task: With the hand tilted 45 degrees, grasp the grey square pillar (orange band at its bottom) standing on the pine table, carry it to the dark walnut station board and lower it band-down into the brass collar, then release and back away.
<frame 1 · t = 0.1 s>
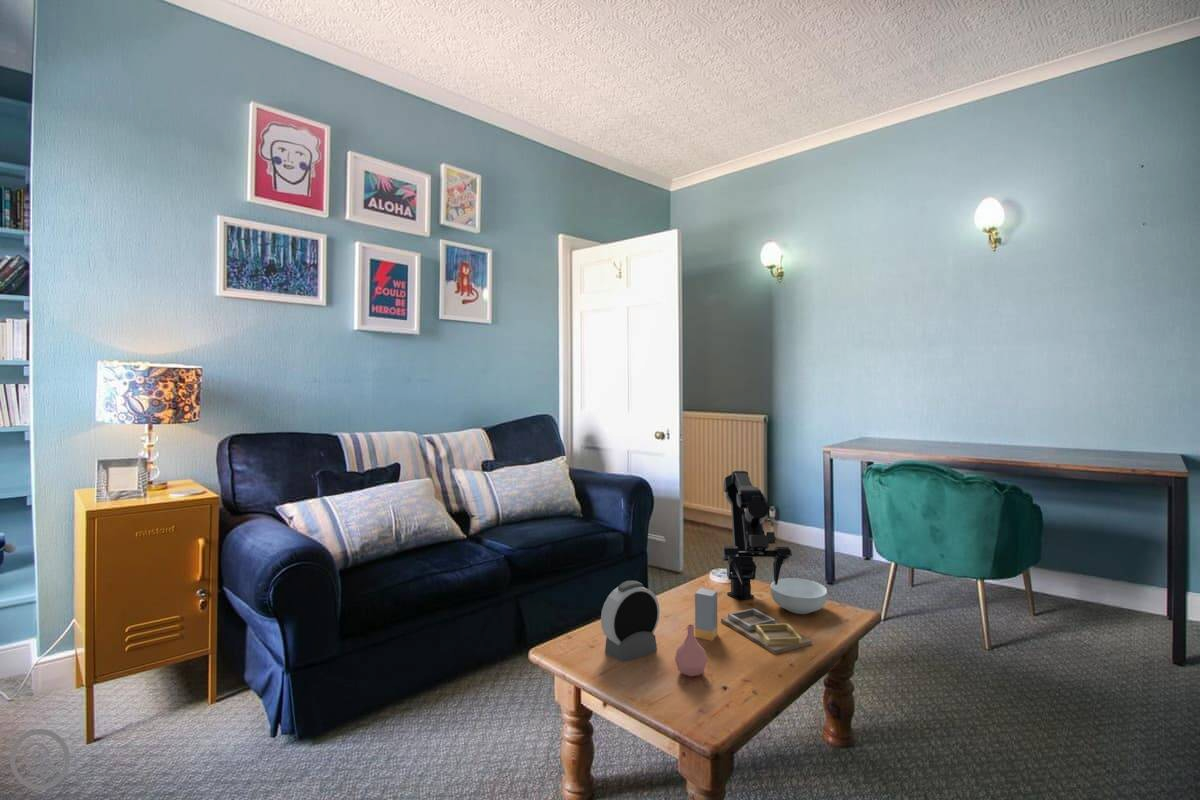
hand: (759, 584, 162), 15 cm above the table, tool tilted 35°, fingers open, 9 cm apart
perfume bottle: (690, 674, 143), on the table
alarm clock: (631, 650, 156), on the table
grey square pillar: (706, 635, 164), on the table
cereal bowl: (798, 609, 182), on the table
station board: (764, 632, 166), on the table
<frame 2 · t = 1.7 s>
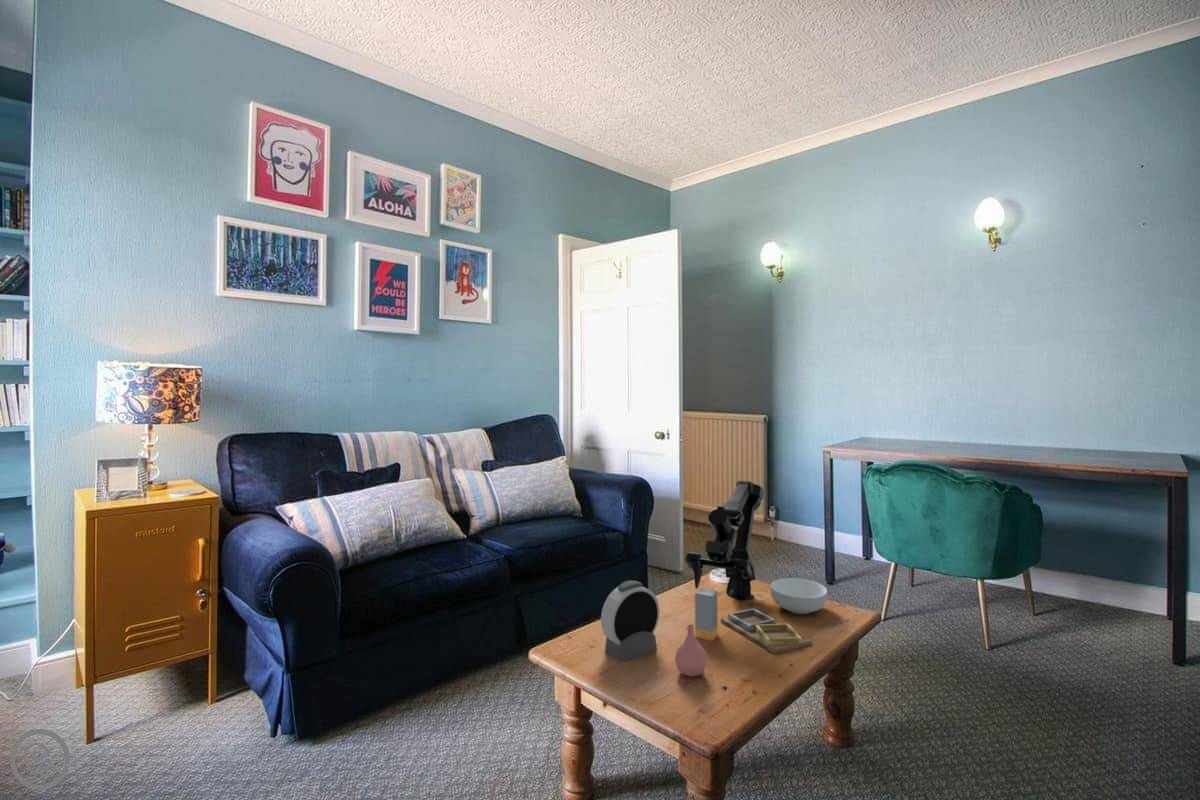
hand: (711, 590, 168), 11 cm above the table, tool tilted 45°, fingers open, 9 cm apart
nothing on the table moved.
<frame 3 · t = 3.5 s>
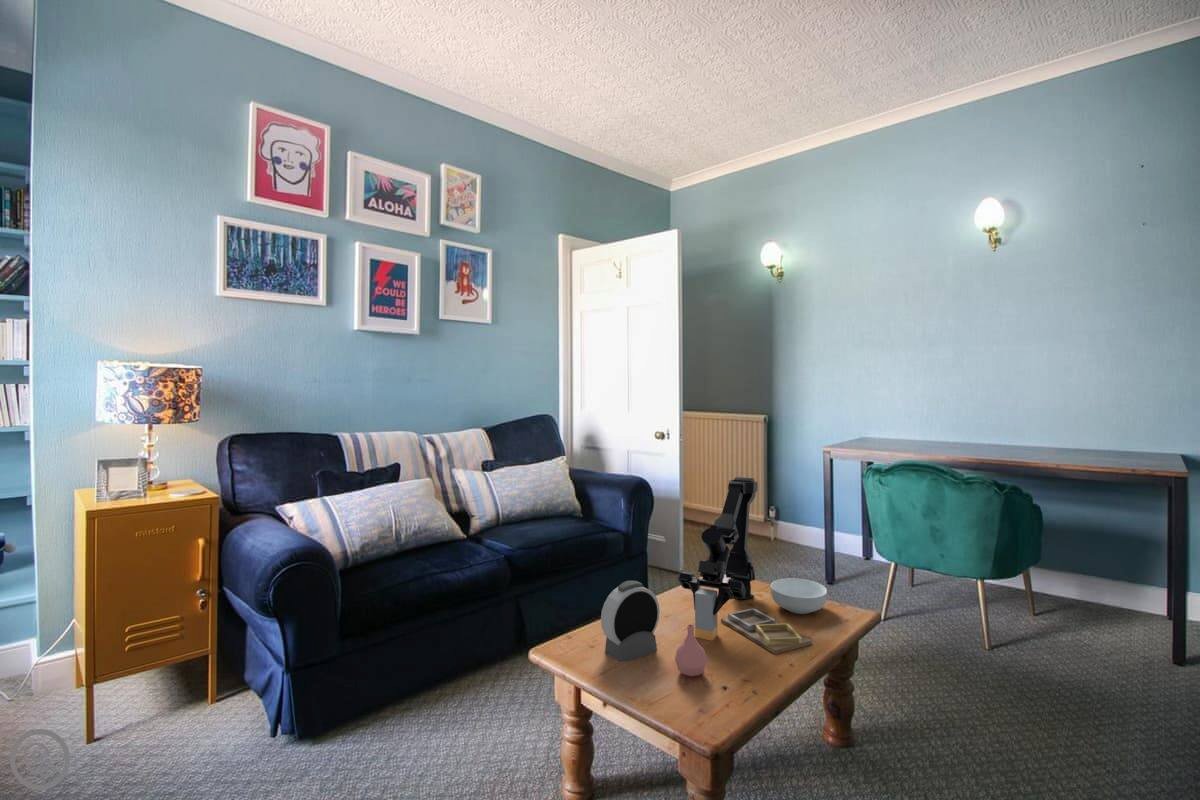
hand: (704, 612, 163), 7 cm above the table, tool tilted 45°, fingers closed on grey square pillar, 5 cm apart
grey square pillar: (706, 635, 164), on the table, touching gripper
everything else where it was.
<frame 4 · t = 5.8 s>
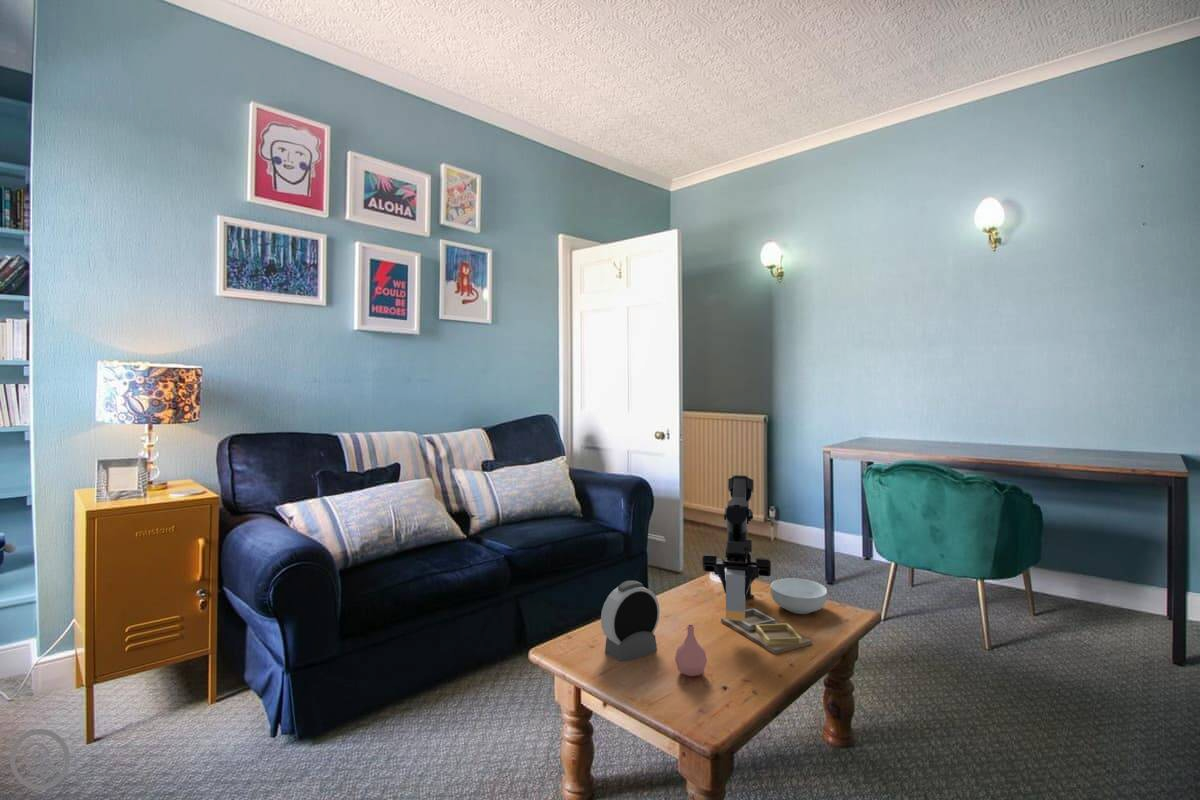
hand: (735, 593, 160), 13 cm above the table, tool tilted 45°, fingers closed on grey square pillar, 5 cm apart
grey square pillar: (735, 617, 161), point 6 cm above the table, touching gripper
everything else where it was.
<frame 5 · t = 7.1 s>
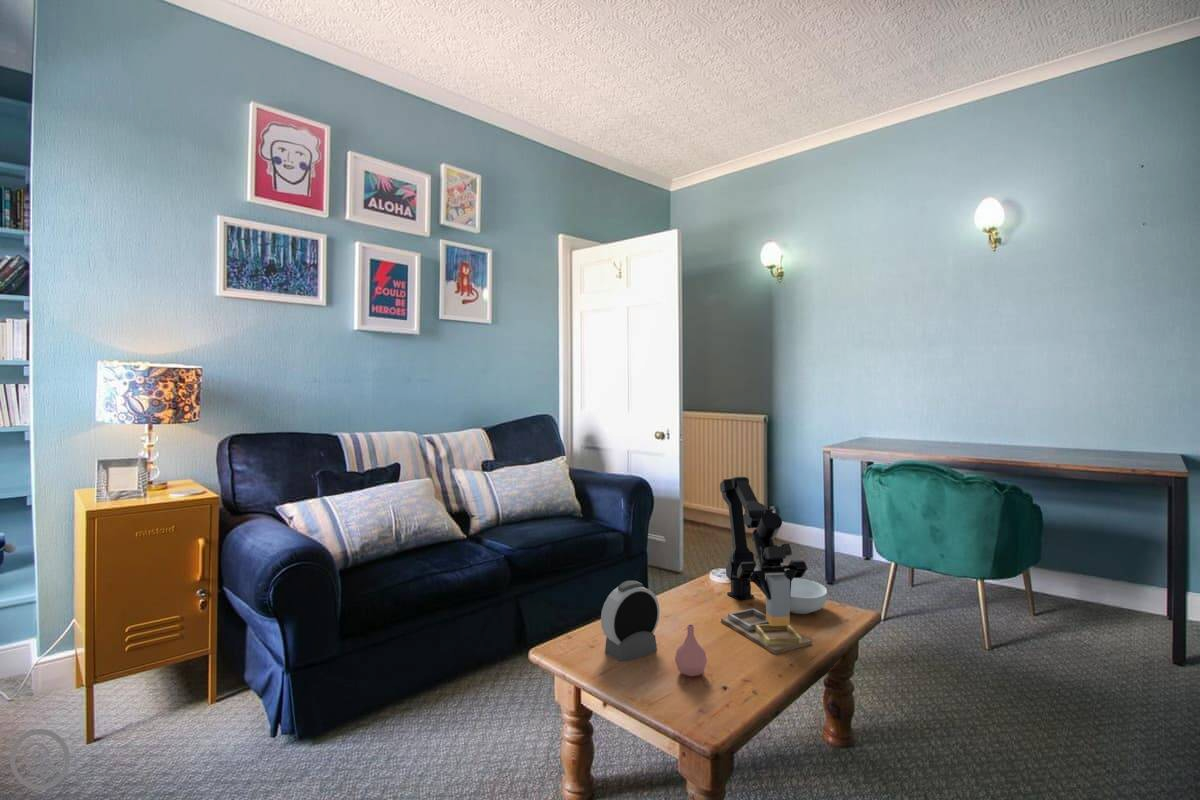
hand: (779, 598, 159), 12 cm above the table, tool tilted 45°, fingers closed on grey square pillar, 5 cm apart
grey square pillar: (777, 622, 161), point 5 cm above the table, touching gripper
everything else where it was.
when the fingers open (9 cm above the table, at t = 8.1 s): grey square pillar stays where it is, resting on station board.
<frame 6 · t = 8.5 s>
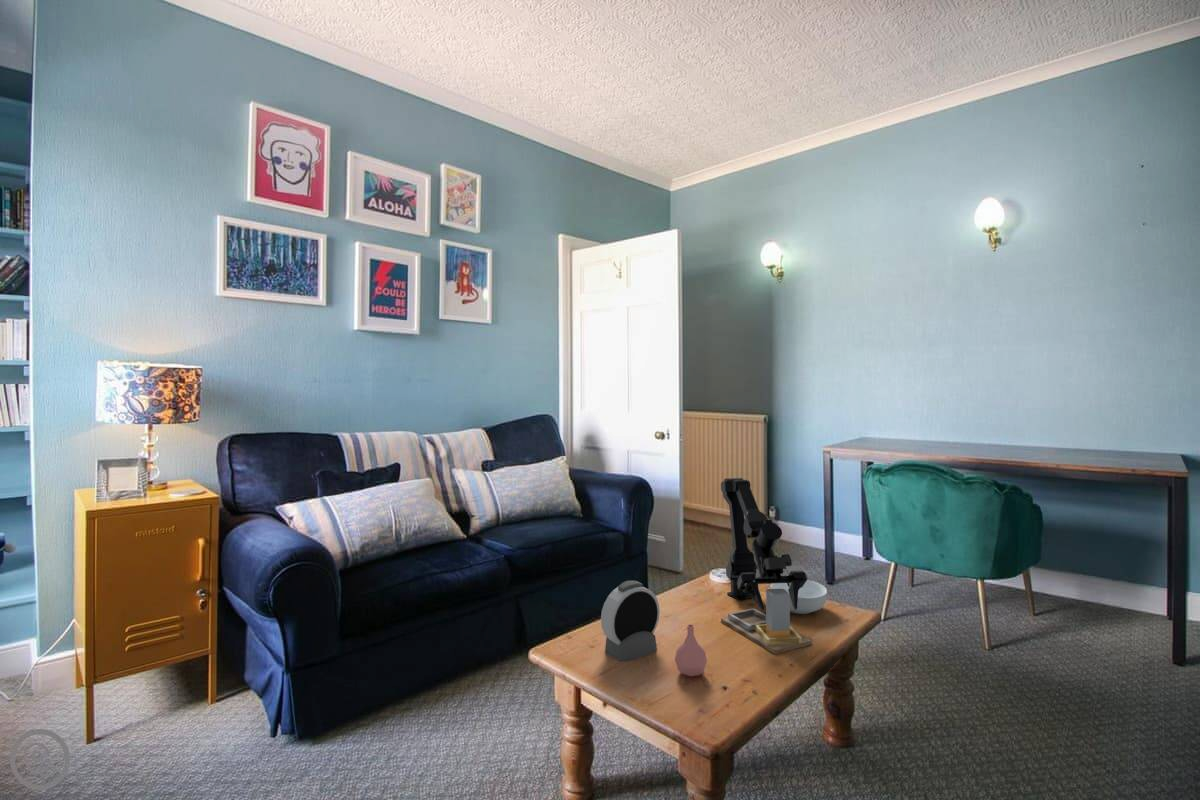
hand: (779, 609, 159), 9 cm above the table, tool tilted 45°, fingers open, 9 cm apart
grey square pillar: (777, 636, 161), point 1 cm above the table, touching station board
everything else where it was.
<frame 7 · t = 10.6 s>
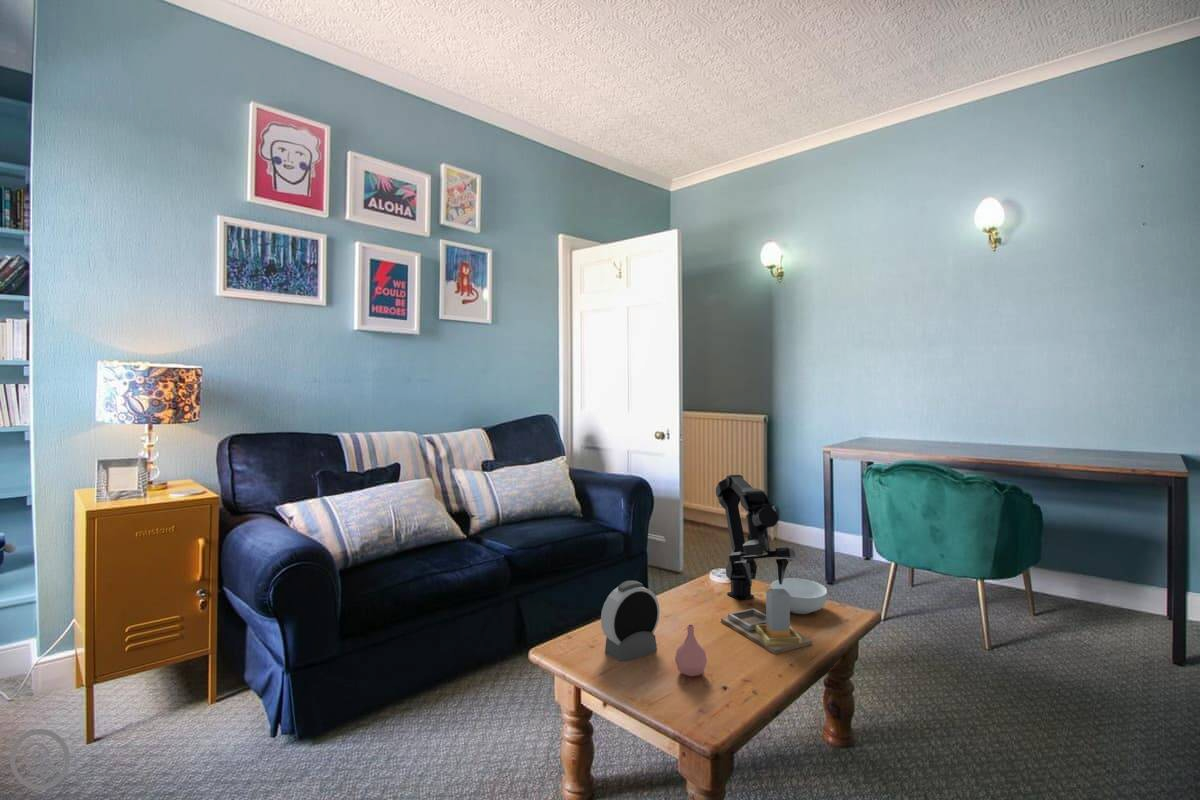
hand: (765, 585, 172), 11 cm above the table, tool tilted 20°, fingers open, 9 cm apart
nothing on the table moved.
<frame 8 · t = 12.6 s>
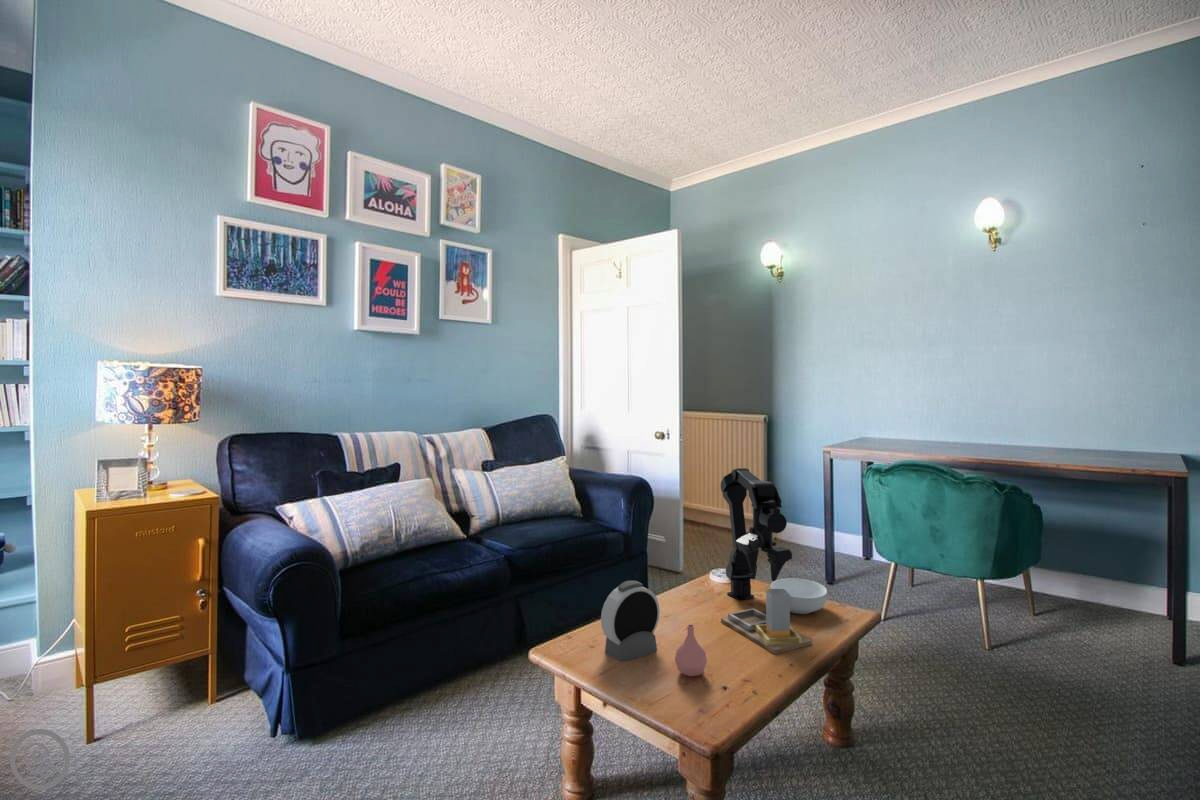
hand: (762, 576, 175), 13 cm above the table, tool pointing down, fingers open, 9 cm apart
nothing on the table moved.
at the end: grey square pillar 0.0 cm from the target spot, point 1.0 cm above the table; grey square pillar tilted 0°; the gripper is holding nothing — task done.
